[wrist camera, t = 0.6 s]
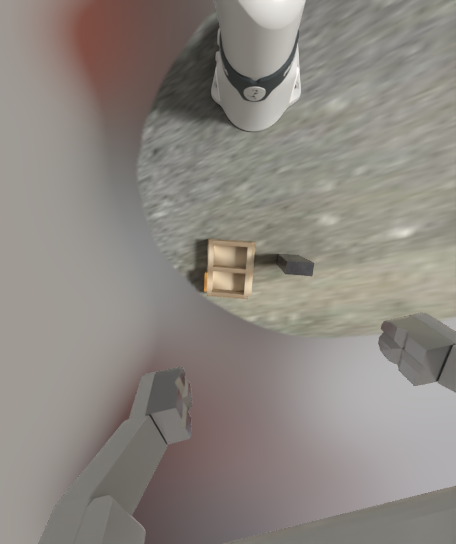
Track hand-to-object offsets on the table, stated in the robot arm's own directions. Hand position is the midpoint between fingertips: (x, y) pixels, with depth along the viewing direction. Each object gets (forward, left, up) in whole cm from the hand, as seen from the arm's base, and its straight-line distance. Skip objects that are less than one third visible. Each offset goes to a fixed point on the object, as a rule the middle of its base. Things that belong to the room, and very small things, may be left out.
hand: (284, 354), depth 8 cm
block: (+2, +9, -44) cm, 45 cm away
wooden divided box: (+5, -5, -44) cm, 45 cm away
